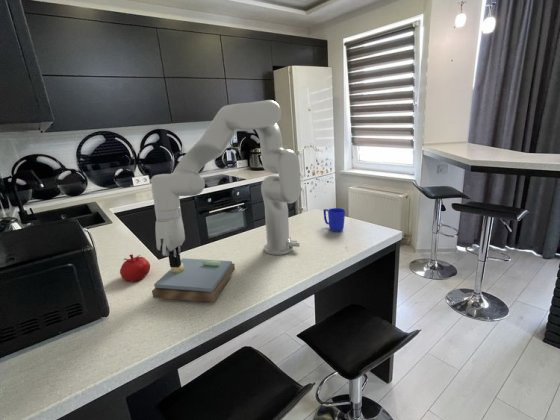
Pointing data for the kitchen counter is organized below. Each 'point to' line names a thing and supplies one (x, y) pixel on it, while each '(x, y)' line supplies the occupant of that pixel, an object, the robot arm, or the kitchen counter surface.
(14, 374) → the kitchen counter surface
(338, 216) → the mug
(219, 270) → the plate
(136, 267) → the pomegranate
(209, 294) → the wooden board
